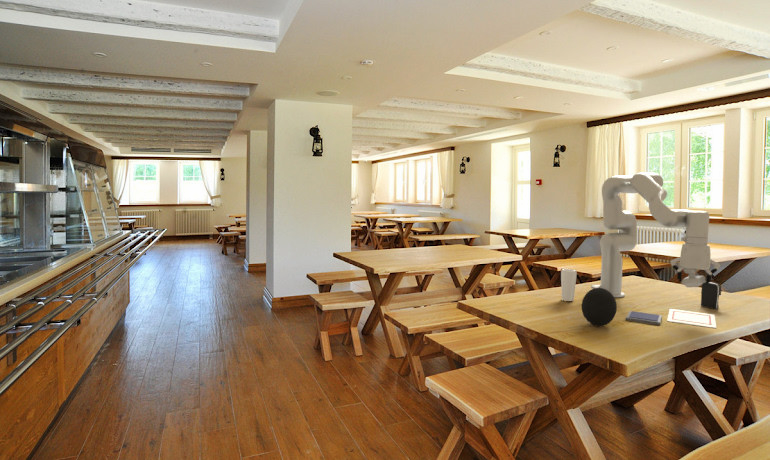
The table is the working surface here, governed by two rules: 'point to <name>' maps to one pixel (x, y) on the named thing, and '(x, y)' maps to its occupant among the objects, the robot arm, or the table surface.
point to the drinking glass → (568, 284)
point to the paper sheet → (692, 318)
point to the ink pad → (644, 317)
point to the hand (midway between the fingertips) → (693, 282)
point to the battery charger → (710, 295)
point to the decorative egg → (599, 306)
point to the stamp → (692, 278)
